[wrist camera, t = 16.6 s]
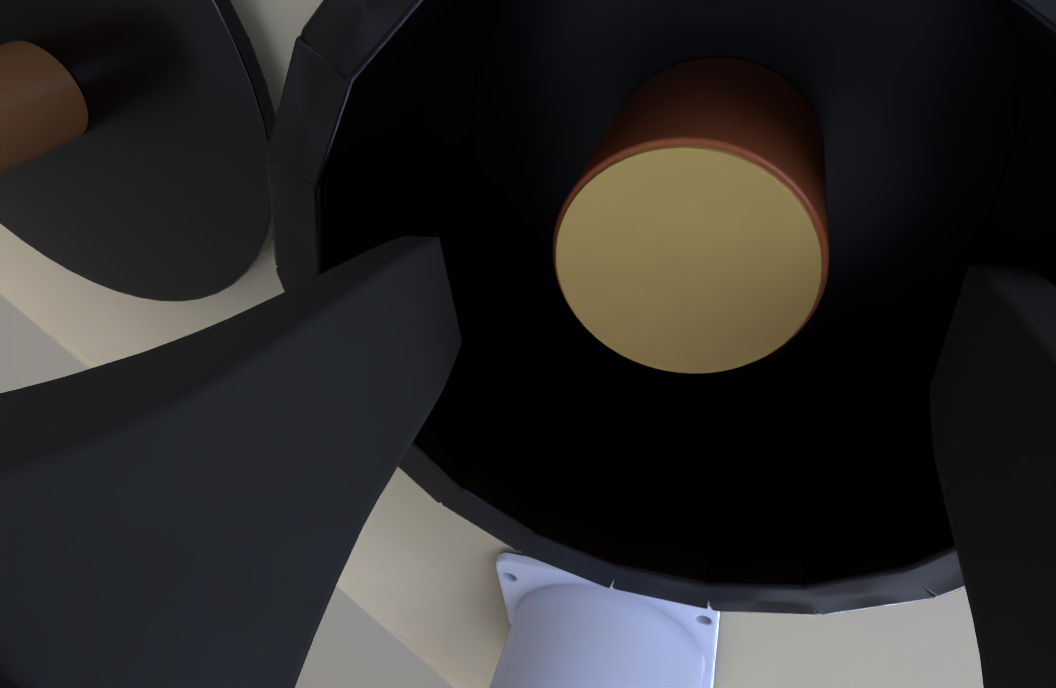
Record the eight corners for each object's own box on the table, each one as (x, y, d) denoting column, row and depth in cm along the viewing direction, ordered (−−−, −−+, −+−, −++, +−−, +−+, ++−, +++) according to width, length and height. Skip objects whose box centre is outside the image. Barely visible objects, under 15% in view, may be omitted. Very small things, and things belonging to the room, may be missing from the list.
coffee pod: (809, 265, 14) (808, 391, 11) (609, 254, 15) (561, 364, 12) (841, 51, 11) (853, 140, 8) (598, 60, 13) (535, 140, 10)
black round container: (961, 404, 15) (1031, 682, 11) (490, 353, 19) (383, 542, 14) (1211, -283, 8) (1752, -387, 4) (392, -154, 12) (117, -122, 7)
